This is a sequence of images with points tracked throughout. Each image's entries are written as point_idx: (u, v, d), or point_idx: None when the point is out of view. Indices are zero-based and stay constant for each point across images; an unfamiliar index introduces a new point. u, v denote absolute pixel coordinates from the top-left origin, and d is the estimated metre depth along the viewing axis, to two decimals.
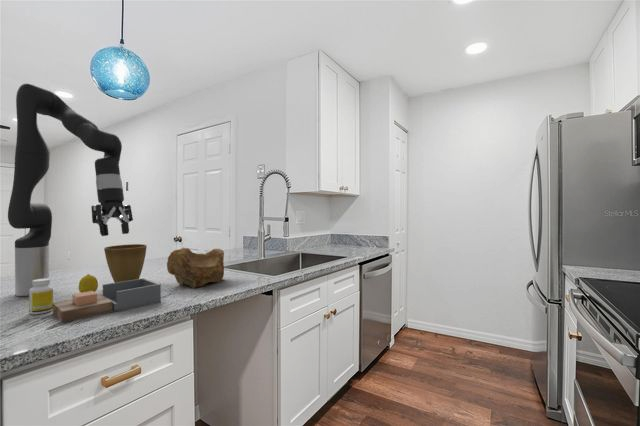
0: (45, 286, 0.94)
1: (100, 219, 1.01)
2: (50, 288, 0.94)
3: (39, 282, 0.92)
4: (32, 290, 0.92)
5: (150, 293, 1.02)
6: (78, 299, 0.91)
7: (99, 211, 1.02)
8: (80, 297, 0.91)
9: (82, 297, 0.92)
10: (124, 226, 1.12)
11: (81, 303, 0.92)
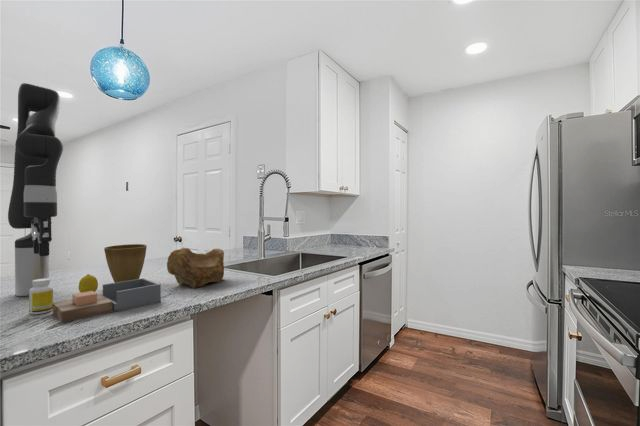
0: (45, 286, 0.94)
1: (31, 236, 0.97)
2: (50, 288, 0.94)
3: (39, 282, 0.92)
4: (32, 290, 0.92)
5: (150, 293, 1.02)
6: (78, 299, 0.91)
7: None
8: (80, 297, 0.91)
9: (82, 297, 0.92)
10: None
11: (81, 303, 0.92)
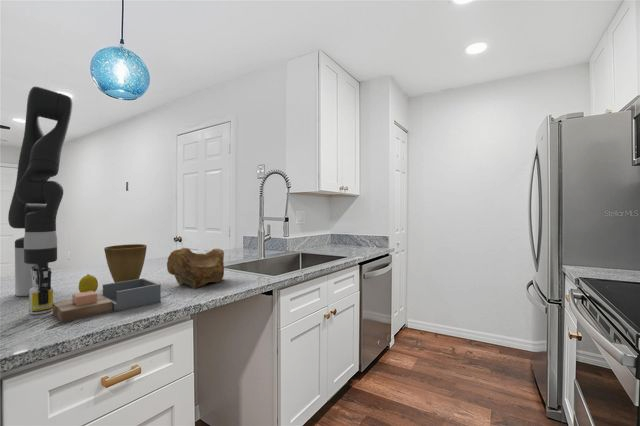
0: None
1: None
2: None
3: None
4: (32, 290, 0.92)
5: (150, 293, 1.02)
6: (78, 299, 0.91)
7: None
8: (80, 297, 0.91)
9: (82, 297, 0.92)
10: None
11: (81, 303, 0.92)
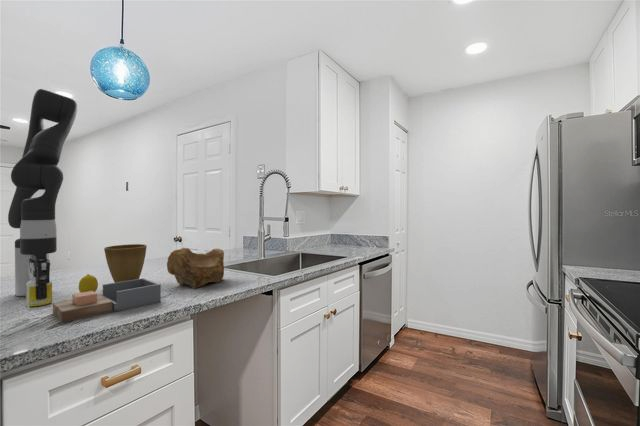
0: None
1: (29, 275, 0.89)
2: None
3: None
4: (29, 283, 0.84)
5: (150, 293, 1.02)
6: (78, 299, 0.91)
7: None
8: (80, 297, 0.91)
9: (82, 297, 0.92)
10: None
11: (81, 303, 0.92)
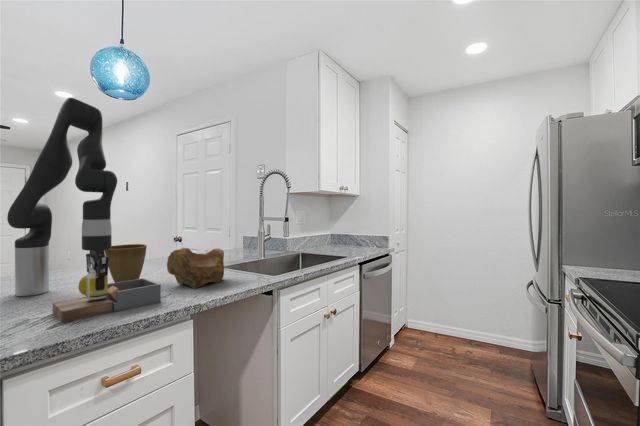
0: (101, 272, 0.96)
1: (87, 269, 0.99)
2: None
3: None
4: (90, 276, 0.94)
5: (150, 293, 1.02)
6: (116, 290, 0.98)
7: (86, 261, 0.99)
8: (118, 290, 0.99)
9: None
10: None
11: (113, 295, 0.98)
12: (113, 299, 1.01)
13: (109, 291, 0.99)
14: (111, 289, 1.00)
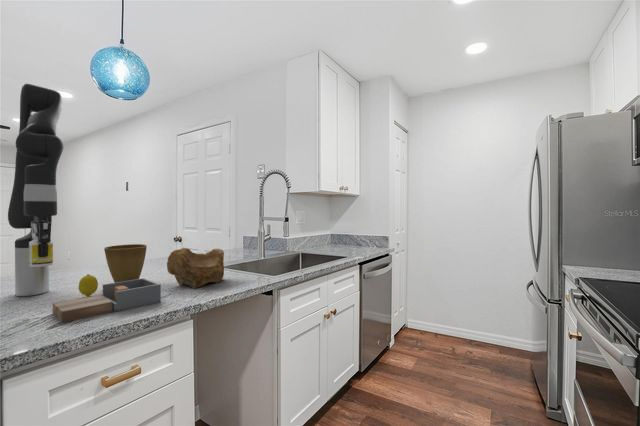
0: None
1: None
2: (50, 242, 0.94)
3: None
4: (32, 242, 0.92)
5: (150, 293, 1.02)
6: (126, 289, 1.01)
7: None
8: None
9: None
10: None
11: None
12: (116, 298, 1.01)
13: (119, 288, 1.01)
14: (121, 287, 1.02)
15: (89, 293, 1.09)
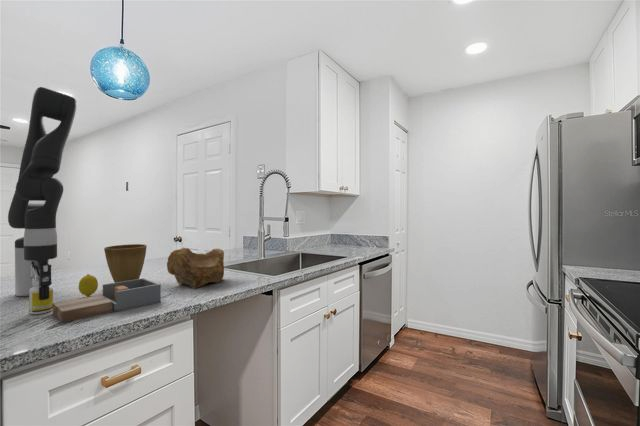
0: None
1: (31, 276, 0.97)
2: (50, 288, 0.95)
3: None
4: (32, 290, 0.92)
5: (150, 293, 1.02)
6: (126, 289, 1.01)
7: None
8: None
9: None
10: None
11: None
12: (116, 298, 1.01)
13: (119, 288, 1.01)
14: (121, 287, 1.02)
15: (89, 293, 1.09)
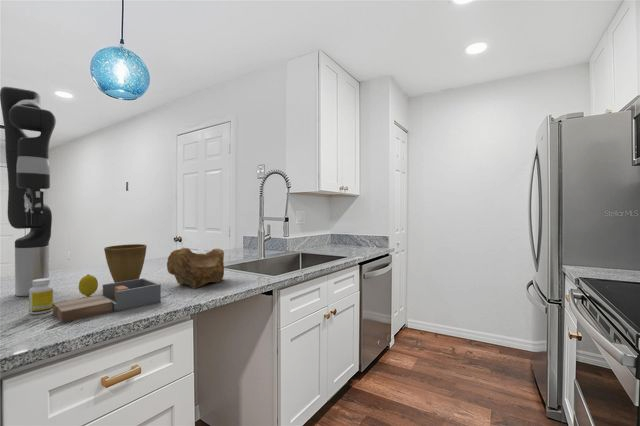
0: (45, 286, 0.94)
1: (25, 208, 0.99)
2: (50, 288, 0.95)
3: (39, 282, 0.93)
4: (32, 290, 0.92)
5: (150, 293, 1.02)
6: (126, 289, 1.01)
7: None
8: None
9: None
10: None
11: None
12: (116, 298, 1.01)
13: (119, 288, 1.01)
14: (121, 287, 1.02)
15: (89, 293, 1.09)
